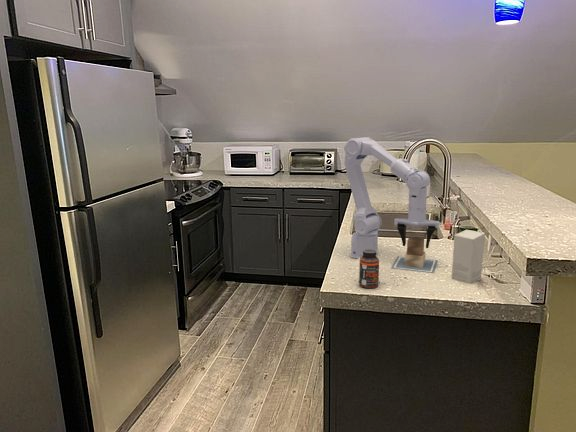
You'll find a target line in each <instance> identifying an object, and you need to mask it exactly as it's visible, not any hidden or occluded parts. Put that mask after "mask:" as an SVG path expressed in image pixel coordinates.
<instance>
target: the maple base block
mask: <svg viewBox="0 0 576 432" xmlns="http://www.w3.org/2000/svg"><path fill="white" fill-rule="evenodd" d="M404 257H405V266H410V267H419V268H423V266H424V263H425V259H426V251H424V252H423V255H422V256H415V255H407V251H406V252H405V254H404Z"/></svg>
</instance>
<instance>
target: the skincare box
mask: <svg viewBox="0 0 576 432" xmlns="http://www.w3.org/2000/svg"><path fill="white" fill-rule="evenodd" d="M485 236H486V233H485V232H483V231H482V232H481V231H477V230H470V229H465V230H463V231H460V232H458V233H456V234H454V238H453V239H454V241H453V251H452V266H451V280H455V281H459V282H463V283H466V284H472V283H475V282H479V281H480V280H482V275H483V274H482V271H483V261H484V260H483V259H484V250H485V249H484V248H485V246H484V245H485V239H486V238H485Z"/></svg>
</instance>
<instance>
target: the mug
mask: <svg viewBox="0 0 576 432" xmlns="http://www.w3.org/2000/svg"><path fill="white" fill-rule="evenodd" d="M430 194H431V182H430V183H429V185H428V186H427V198H429V197H430Z"/></svg>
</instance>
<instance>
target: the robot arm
mask: <svg viewBox="0 0 576 432" xmlns="http://www.w3.org/2000/svg"><path fill="white" fill-rule="evenodd" d="M377 142H378V141H376V140H373V139H372V138H371V137H369V136H364V137H352V138H350V139H348V141H347V142H346V143H345V145H344V146H343V148H344V152H345V154H344V155H345V156H344V168H345V171H346V175H347V179H348V182H349V186H350V189H351V193H352V197H353V200H354V204H355V209H356V211H355V213H354V215H353V218H354V223H353V224H354V225H353V227H354V230H355V232H353V233H352V235H351V241H350V242H351V245H350V249H351V250H350V259H351V258H352V259H360V258H361V257H362V256H363V250H366V249H372V250H375V251H376V257H378V243H379V241H378V238H379V229H380V228H381V226H382V218H381V217H380V216H379V214H378V212H377V209H376V208H374V207H373V206H372V204H371V203H372V202H371V200H370V199H371V198H370V197H369V193H368V189H367V185H366V181H365V177H364V173H363V170H362V163H363V161H364V160H365V159H366V158H367V157H368V156H372V157H374V158H376V159H378V160H379V161H380V162H381V163H383V164H385V165H387V166H388V167H390V172H391V173H392V174H393V175H395V176H396V177H397V178H399V179H400V180H402V181H403V182H405V184H406V187H407V188H408V206H407V207H408V208H407V209H408V210H407V212H408V213H407V218H403V217H401V218H396V217H395V218H394V226H397V227H396V228H397V231H398V233H399V235H400V238H401V242H402V247H405V246H407V240H406V238H407V237H406V235H407V226H410V227H412V226H413V227H426V241H425V242H426V243H425V249H429V248H430V242H431V239H432V237H433V234H434V232H435V231H436V229H439V228H440V221H438V220H431V219H427V218H426V217H427V199H428V197H427V186H428V185H429V183H430V184H431V177H430V175H429V173H428V172H427V171H426V170H419V168H418V167H415V166H413V164H411V163H409V162H408V161H409V160H408V159H406V158H396V157H394V155H392V154H391V153H390V152H388V151H387V150H386V149H384V148H383V147H382V146H381V145H380V144H379V143H377Z"/></svg>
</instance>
